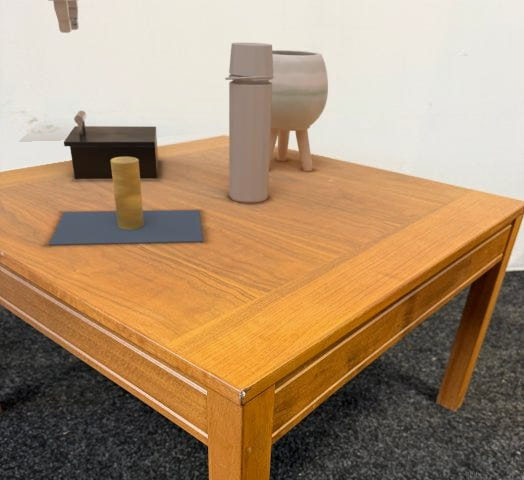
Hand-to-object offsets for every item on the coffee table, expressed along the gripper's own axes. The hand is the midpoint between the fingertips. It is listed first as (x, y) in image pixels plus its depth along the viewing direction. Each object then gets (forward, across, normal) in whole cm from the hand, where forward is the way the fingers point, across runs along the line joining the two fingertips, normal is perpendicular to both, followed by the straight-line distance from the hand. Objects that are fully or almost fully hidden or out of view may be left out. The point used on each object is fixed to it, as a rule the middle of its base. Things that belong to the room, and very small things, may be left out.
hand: (70, 31), depth 99 cm
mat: (+25, +33, +10) cm, 43 cm away
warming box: (+25, 0, +6) cm, 26 cm away
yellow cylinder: (+24, +33, +10) cm, 42 cm away
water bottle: (+25, +18, +30) cm, 43 cm away
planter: (+25, -3, +41) cm, 48 cm away
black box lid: (+18, 0, +6) cm, 19 cm away
